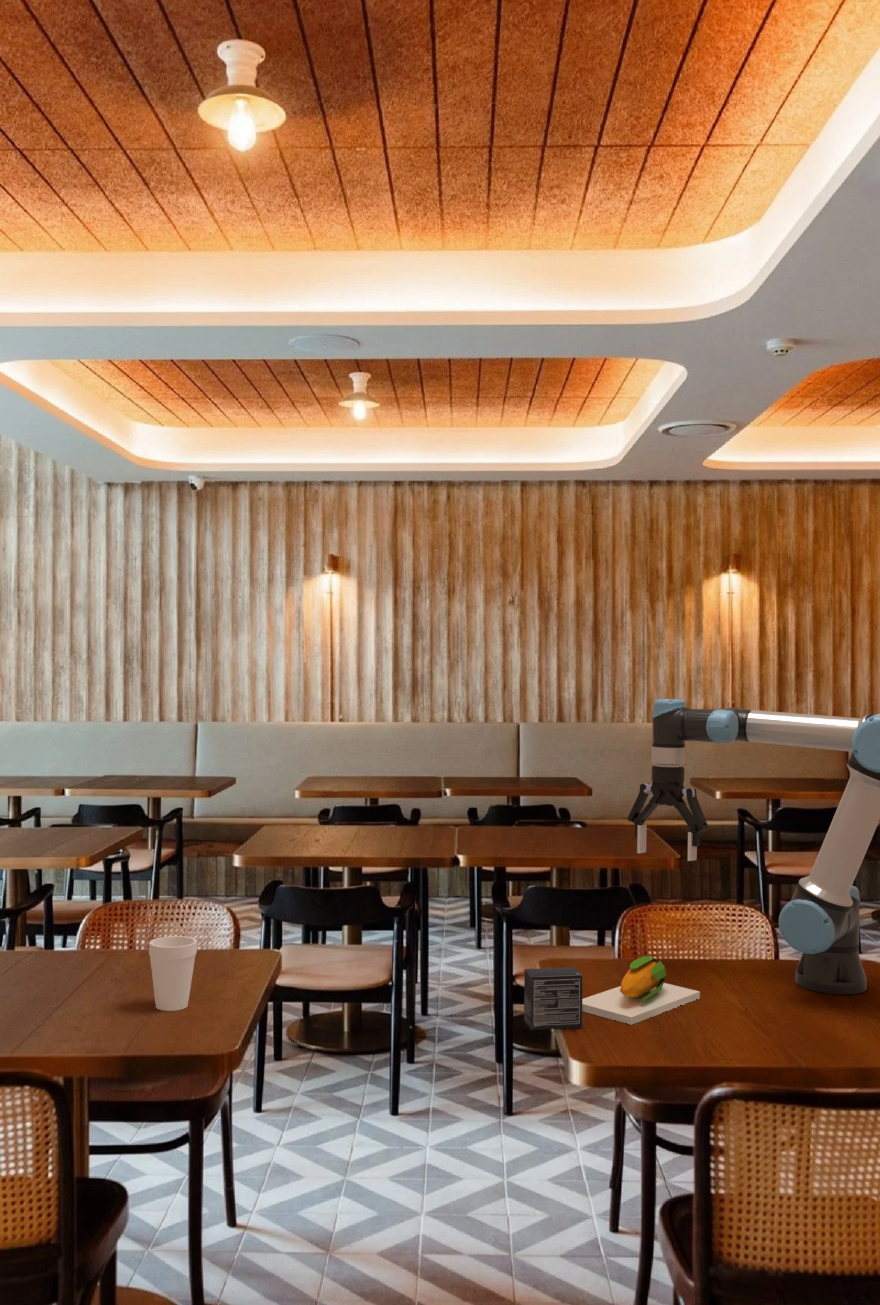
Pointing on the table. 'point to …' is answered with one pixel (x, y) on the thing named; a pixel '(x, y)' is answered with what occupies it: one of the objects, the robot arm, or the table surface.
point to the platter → (637, 1003)
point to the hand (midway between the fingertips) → (666, 856)
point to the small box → (553, 998)
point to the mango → (643, 978)
